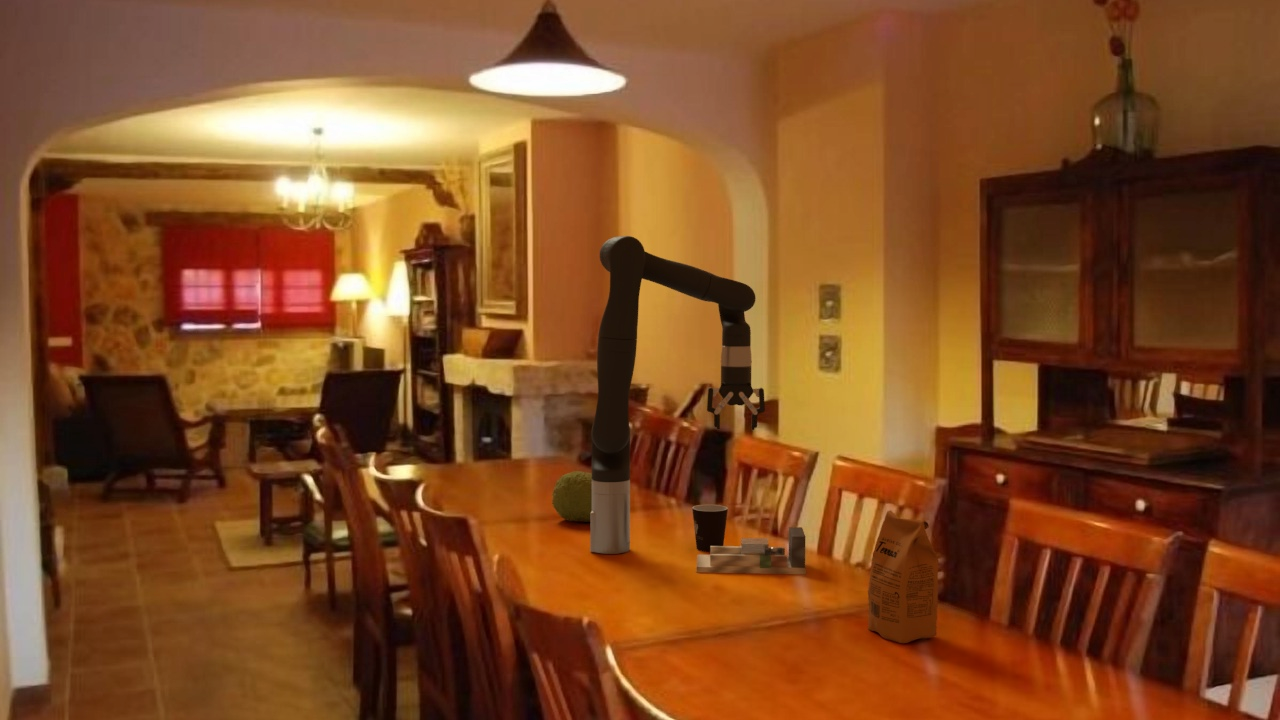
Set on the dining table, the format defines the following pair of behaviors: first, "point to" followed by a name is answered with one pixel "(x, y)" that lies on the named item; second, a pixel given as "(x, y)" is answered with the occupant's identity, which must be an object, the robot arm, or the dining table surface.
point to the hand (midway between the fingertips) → (735, 429)
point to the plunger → (758, 547)
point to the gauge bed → (756, 558)
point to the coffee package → (903, 581)
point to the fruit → (573, 496)
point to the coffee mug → (709, 525)
